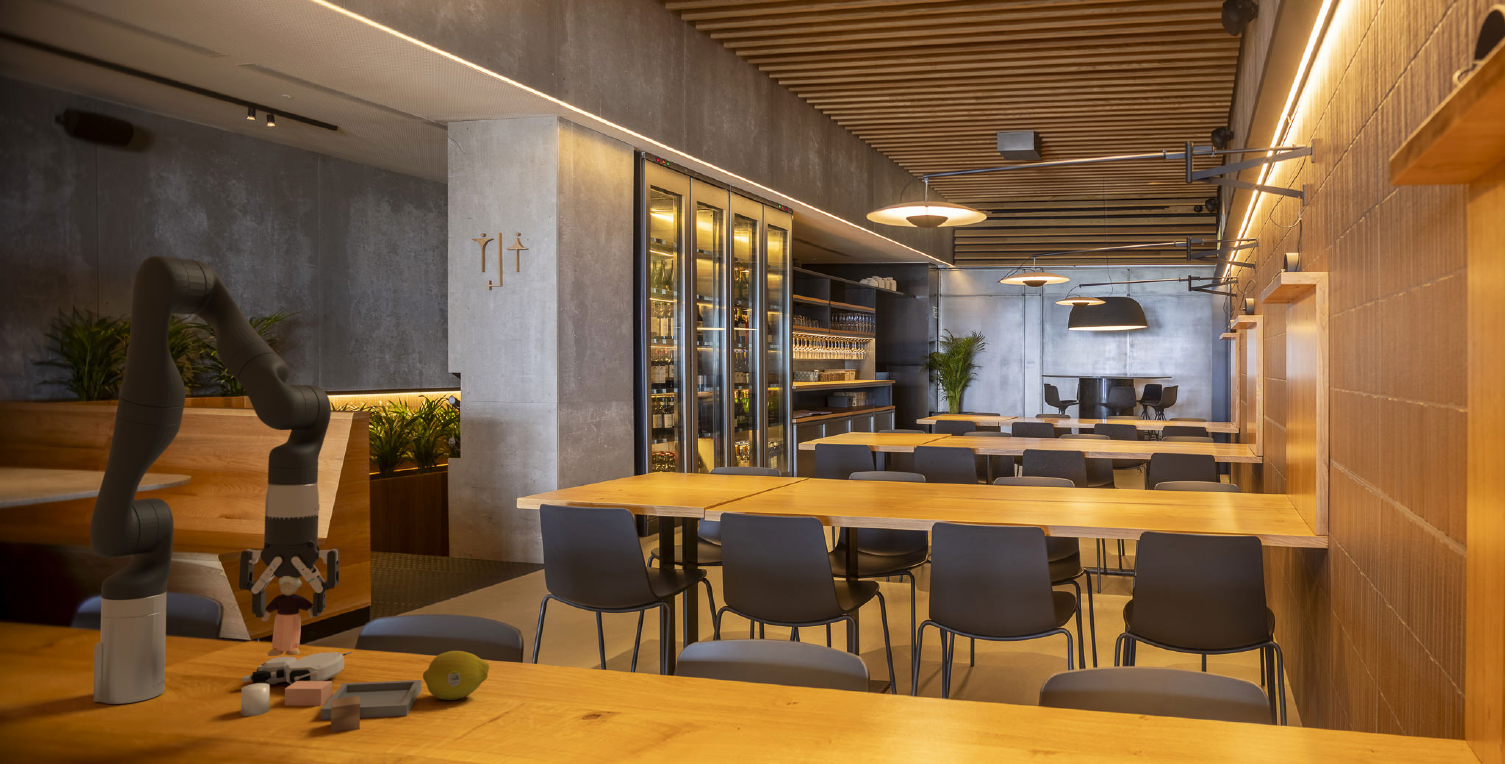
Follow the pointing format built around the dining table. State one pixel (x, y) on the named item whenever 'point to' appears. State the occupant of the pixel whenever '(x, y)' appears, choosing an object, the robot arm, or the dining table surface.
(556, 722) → the dining table surface
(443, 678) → the lemon
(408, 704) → the tray
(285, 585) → the grandmother figurine
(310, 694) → the terracotta block
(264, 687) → the white rounded cylinder block
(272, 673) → the robot toy
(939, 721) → the dining table surface
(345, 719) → the walnut cube
